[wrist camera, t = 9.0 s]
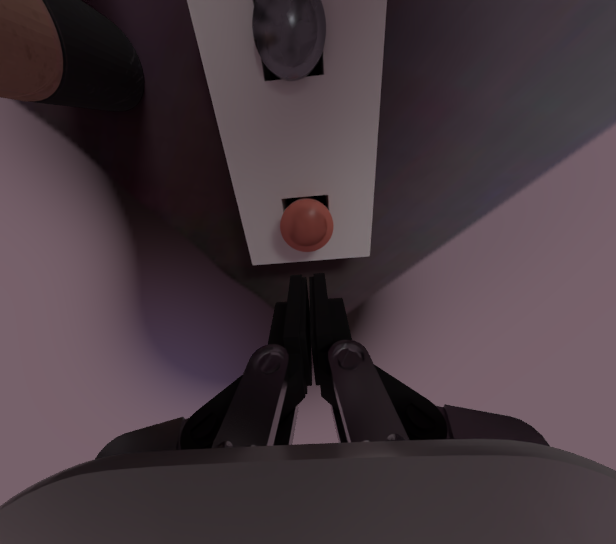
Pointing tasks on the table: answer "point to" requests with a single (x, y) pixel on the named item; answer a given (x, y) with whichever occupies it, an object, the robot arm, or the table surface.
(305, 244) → the red button
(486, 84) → the table surface
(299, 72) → the metal button
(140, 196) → the table surface
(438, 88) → the table surface
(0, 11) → the travel mug
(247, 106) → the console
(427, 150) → the table surface
